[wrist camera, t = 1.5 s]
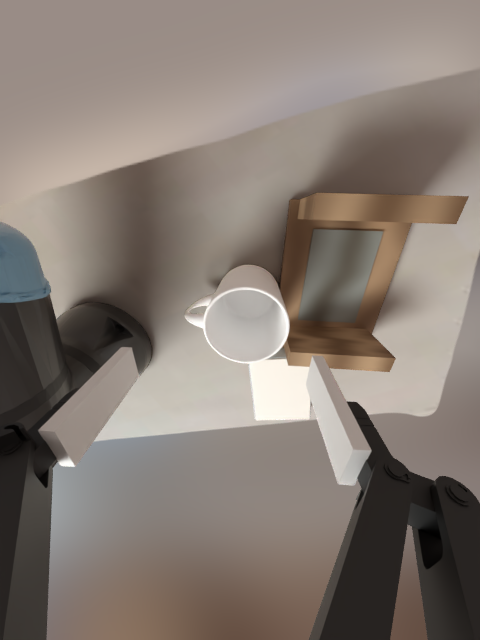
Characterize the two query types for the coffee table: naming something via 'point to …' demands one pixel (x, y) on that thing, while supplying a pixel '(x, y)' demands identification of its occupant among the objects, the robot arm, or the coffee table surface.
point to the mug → (244, 316)
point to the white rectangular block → (279, 389)
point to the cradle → (347, 271)
